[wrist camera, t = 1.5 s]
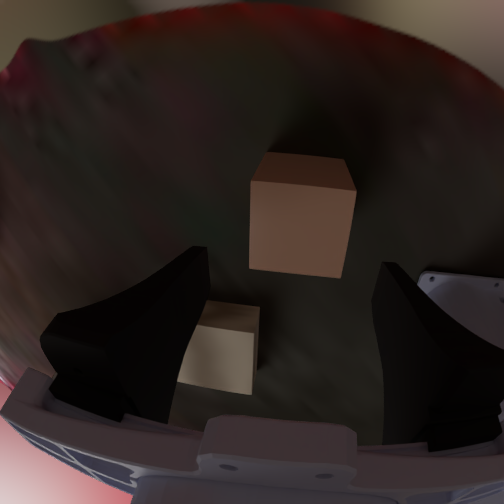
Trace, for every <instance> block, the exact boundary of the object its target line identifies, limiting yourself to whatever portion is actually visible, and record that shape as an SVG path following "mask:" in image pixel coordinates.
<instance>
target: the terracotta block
mask: <svg viewBox="0 0 504 504" xmlns="http://www.w3.org/2000/svg"><path fill="white" fill-rule="evenodd" d="M356 193H357V191H356V188H355V186H354V183H353V180H352V178H351V175H350V173H349V170H348V168H347V166H346V163H345V161H344V159H337V158H329V157H320V156H310V155H300V154H288V153H276V152H266V154H265V155H264V157H263V159H262V161H261V163H260V165H259V167H258V168H257V170H256V172H255V174H254V176H253V178H252V180H251V202H250V253H249V269H258V270H267V271H276V272H285V273H295V274H304V275H313V276H323V277H333V278H341V274H342V269H343V264H344V259H345V254H346V249H347V244H348V239H349V233H350V228H351V222H352V217H353V211H354V205H355V199H356Z"/></svg>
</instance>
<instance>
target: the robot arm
mask: <svg viewBox="0 0 504 504" xmlns="http://www.w3.org/2000/svg"><path fill="white" fill-rule="evenodd" d="M432 276H434V277H433V278H432V279H430V277H432ZM496 283H497V284H496ZM209 290H210V277H209V266H208V254H207V247H200V246H192V247H191V248H189V249H188V250H186V251H185V252H184V253H182V254H181V255H179V256H178V257H177V258H175V259H174V260H173V261H171V262H170V263H169V264H167V265H166V266H165V267H163V268H162V269H160V270H159V271H157V272H156V273H154V274H153V275H151V276H150V277H148V278H147V279H145V280H144V281H142V282H140V283H138V284H137V285H135V286H133V287H131V288H129V289H127V290H125V291H123V292H121V293H119V294H117V295H115V296H112V297H110V298H108V299H105V300H103V301H100V302H97V303H95V304H92V305H89V306H86V307H82V308H79V309H75V310H71V311H67V312H62V313H58V314H57V315H56V316H55V317H54V319H53V320H52V321H51V323H50V324H49V325H48V327H47V328H46V329H45V331H44V332H43V333H42V335H41V336H40V343H41V348H42V350H43V352H44V354H45V355H46V357H47V359H48V360H49V362H50V363H51V365H52V366H53V368H54V370H55V371H56V373H57V376H56V378H55V379H54V380H53V379H52V378H51V377H49V376H48V375H46V374H44V373H41V372H39V371H37V370H34V369H32V368H27V369H26V371H25V372H24V374H23V375H22V377H21V378H20V380H19V381H18V383H17V385H16V386H15V388H14V389H13V391H12V392H11V394H10V396H9V397H8V399H7V401H6V402H5V404H4V405H3V407H2V409H1V410H0V415H1V416H2V417H3V419H5V421H7V422H8V423H9V424H10V425H11V426H12V427H13V428H14V429H15V430H16V431H17V432H18V433H19V434H20V435H21V436H22V437H23V438H24V439H26V440H27V441H28V442H29V443H30V444H31V445H33V446H35V447H36V448H38V449H40V450H41V451H43V452H45V453H47V454H48V455H50V456H52V457H54V458H56V459H57V460H59V461H61V462H63V463H65V464H67V465H69V466H70V467H72V468H74V469H76V470H78V471H80V472H82V473H84V474H86V475H88V476H90V477H92V478H94V479H96V480H99V481H101V482H103V483H105V484H107V485H109V486H112V487H114V488H116V489H119V490H121V491H124V492H126V493H128V494H131V495H133V498H132V501H131V504H504V279H501V278H492V277H482V276H473V275H463V274H453V273H444V272H434V271H424V272H423V273H422V274H421V275H420V278H419V281H418V283H417V284H416V283H415V282H414V281H413V280H412V279H411V278H410V277H409V275H408V274H407V273H406V272H405V271H404V270H403V269H402V268H401V267H400V266H399V265H398V264H397V263H394V262H382V264H381V268H380V271H379V275H378V279H377V282H376V286H375V290H374V293H373V296H372V300H371V302H372V314H373V323H374V328H375V333H376V337H377V342H378V347H379V352H380V357H381V362H382V369H383V382H384V429H383V442H382V445H377V446H357V433H356V432H354V431H353V430H351V429H349V428H348V427H346V426H344V425H339V424H332V423H321V422H303V421H289V420H278V419H268V418H259V417H251V416H243V415H221V416H218V417H215V418H212V419H209V420H208V422H207V424H206V427H205V430H204V432H199V431H194V430H189V429H185V428H180V427H176V426H172V425H167V424H168V419H169V413H170V409H171V404H172V400H173V395H174V391H175V387H176V383H177V380H178V376H179V372H180V369H181V365H182V362H183V358H184V355H185V352H186V349H187V347H188V344H189V342H190V340H191V337H192V335H193V333H194V331H195V328H196V326H197V324H198V321H199V319H200V317H201V314H202V312H203V310H204V307H205V304H206V301H207V297H208V294H209Z"/></svg>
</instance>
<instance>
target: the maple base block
mask: <svg viewBox="0 0 504 504" xmlns="http://www.w3.org/2000/svg"><path fill="white" fill-rule="evenodd" d="M259 316H260V307H256V306H248V305H240V304H232V303H225V302H218V301H211V300H207V301H206V304H205V307H204V310H203V312H202V314H201V317H200V319H199V321H198V324H197V326H196V328H195V331H194V333H193V335H192V337H191V340H190V342H189V344H188V347H187V349H186V352H185V355H184V358H183V362H182V365H181V369H180V372H179V376H178V380H177V381H178V382H182V383H187V384H192V385H197V386H202V387H207V388H212V389H218V390H223V391H229V392H235V393H241V394H248V395H252V391H253V386H254V381H255V376H256V371H257V355H258V336H259Z"/></svg>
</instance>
